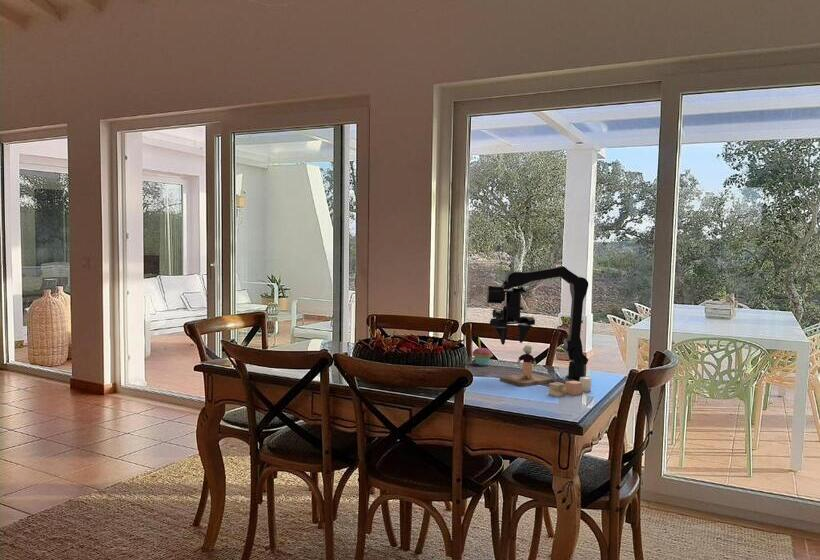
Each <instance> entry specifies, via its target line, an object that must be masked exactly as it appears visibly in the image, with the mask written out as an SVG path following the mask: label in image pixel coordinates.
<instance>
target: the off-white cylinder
mask: <svg viewBox="0 0 820 560" xmlns="http://www.w3.org/2000/svg"><path fill="white" fill-rule="evenodd" d="M579 382H581V383H582V392H584V393H585V392H586V393H589V392H592V377H589V376H587V377H580V380H579Z"/></svg>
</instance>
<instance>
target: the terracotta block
mask: <svg viewBox="0 0 820 560" xmlns="http://www.w3.org/2000/svg"><path fill="white" fill-rule="evenodd" d="M565 384H566V393H565V394H568V395H572V396H576V395H577V396H578V395H581V394H582V393H583V391H582V383H581V382H580V381H578V380H569V381H568V380H567V381H565Z"/></svg>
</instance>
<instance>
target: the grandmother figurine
mask: <svg viewBox="0 0 820 560" xmlns="http://www.w3.org/2000/svg"><path fill="white" fill-rule="evenodd" d="M532 347H533V346H532V345H530V344H526V345H524V347H523V349H522V351H523V352H524V354H522V355H520V356H519V357H518V360H517V363H518V364H520V363H521V361H523V362H522V374H523V377H522V378H527V379H534V377H533V376H532V373H533V366H534V367H537V362H536V359H535V357H534V356H533V355H531V354H532ZM528 376H529V377H528Z"/></svg>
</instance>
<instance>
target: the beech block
mask: <svg viewBox="0 0 820 560" xmlns="http://www.w3.org/2000/svg"><path fill="white" fill-rule="evenodd" d="M566 394H567V393H566V383H562V382H559V381H555V382H554V381H553V382H550V383H548V395H549V396H550V395H551V396H554V397H556V398H557V397H563V396H566Z"/></svg>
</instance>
